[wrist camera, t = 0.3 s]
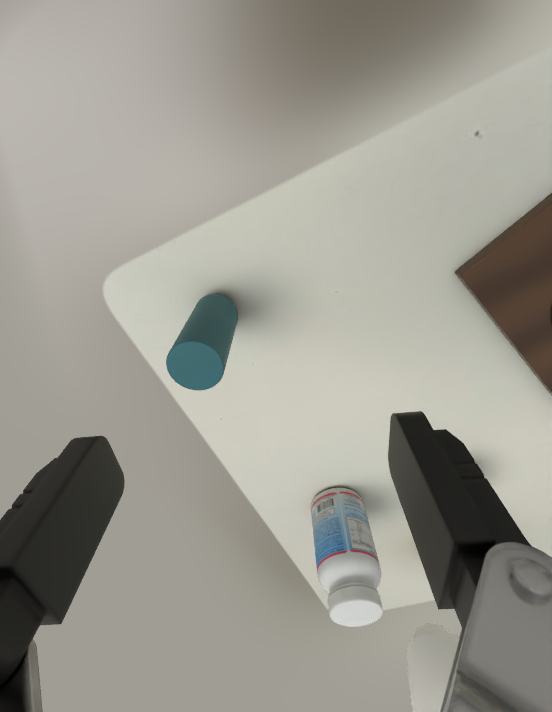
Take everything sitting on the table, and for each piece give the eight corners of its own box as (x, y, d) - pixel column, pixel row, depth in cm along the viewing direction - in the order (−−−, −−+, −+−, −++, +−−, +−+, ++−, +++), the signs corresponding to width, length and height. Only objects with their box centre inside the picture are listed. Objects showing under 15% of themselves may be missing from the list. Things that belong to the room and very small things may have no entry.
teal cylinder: (189, 310, 28) (154, 367, 20) (215, 280, 27) (189, 330, 19) (221, 336, 29) (200, 399, 21) (248, 309, 28) (236, 366, 20)
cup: (364, 531, 42) (427, 807, 24) (422, 515, 41) (537, 798, 23) (381, 562, 46) (448, 825, 27) (436, 548, 44) (545, 818, 26)
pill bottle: (313, 522, 42) (324, 633, 32) (307, 488, 39) (317, 599, 29) (364, 517, 41) (391, 629, 31) (362, 482, 38) (391, 593, 28)
